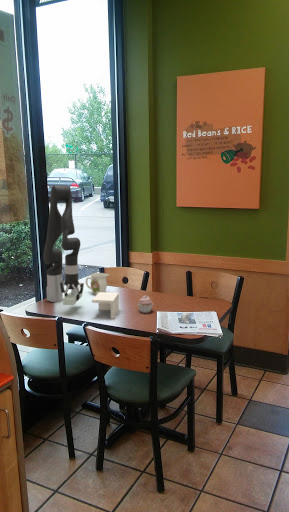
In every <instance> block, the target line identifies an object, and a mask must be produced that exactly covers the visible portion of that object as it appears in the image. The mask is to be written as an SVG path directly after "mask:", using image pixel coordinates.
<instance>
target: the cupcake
mask: <svg viewBox="0 0 289 512" xmlns="http://www.w3.org/2000/svg"><path fill="white" fill-rule="evenodd" d="M153 305H154V303H153V302H152V300H151V298H150V297H149V296H148V295H143V296H142V297H141V298H139V301H138V303H137V306H138V309H139V312H140V313H142V314H148V313H151V310H152V308H153Z"/></svg>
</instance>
